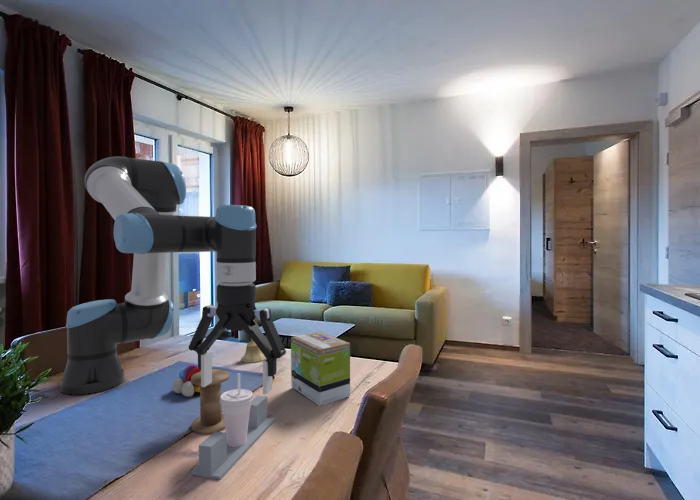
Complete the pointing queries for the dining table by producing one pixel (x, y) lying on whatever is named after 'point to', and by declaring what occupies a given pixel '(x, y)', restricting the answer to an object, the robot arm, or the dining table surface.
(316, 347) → the tea box
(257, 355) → the hand bell
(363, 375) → the dining table surface
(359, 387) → the dining table surface
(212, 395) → the bobbin
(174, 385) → the rainbow toy
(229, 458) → the board with upright blocks
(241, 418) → the smoothie
